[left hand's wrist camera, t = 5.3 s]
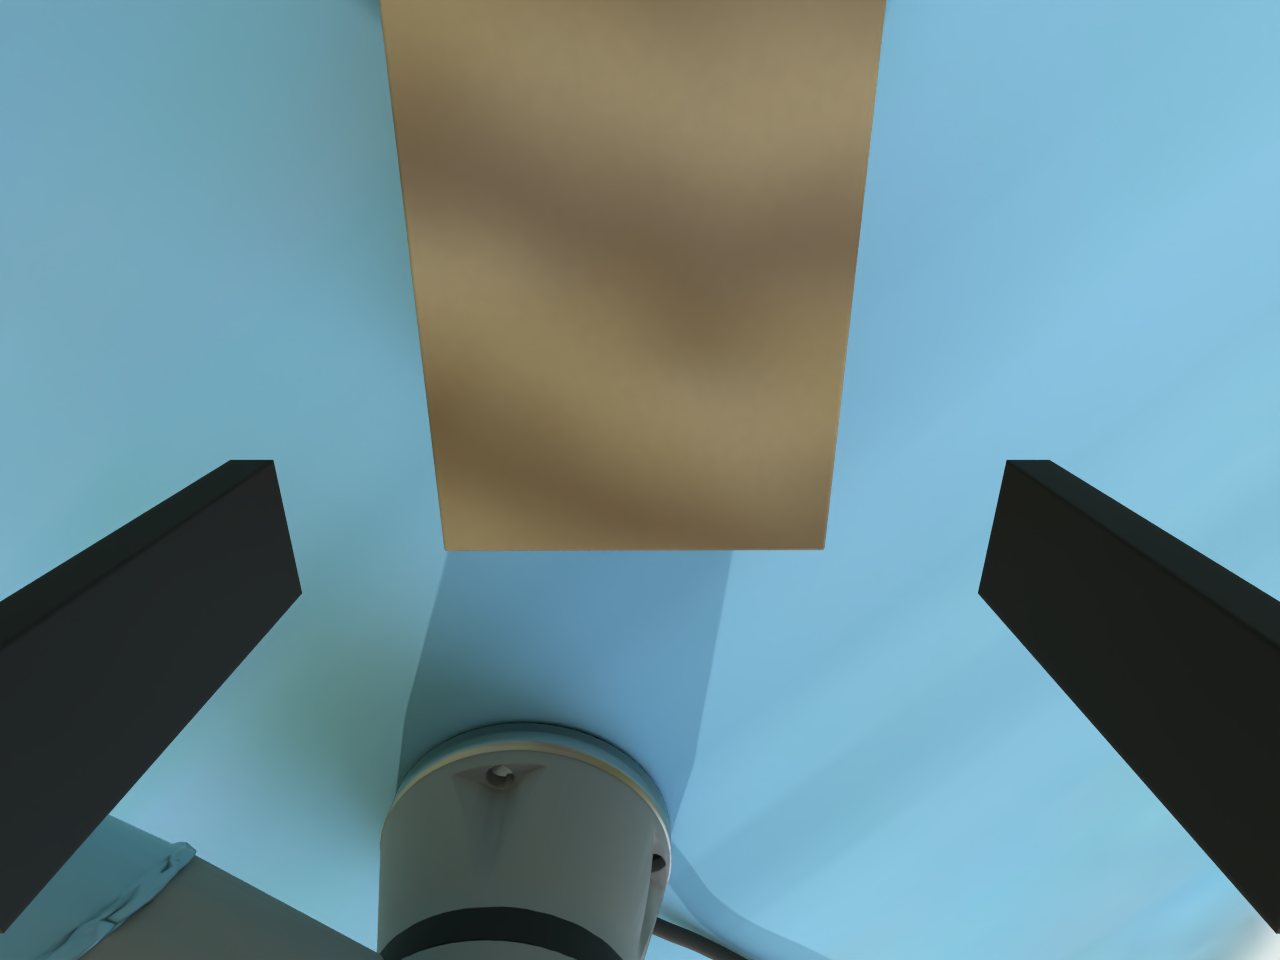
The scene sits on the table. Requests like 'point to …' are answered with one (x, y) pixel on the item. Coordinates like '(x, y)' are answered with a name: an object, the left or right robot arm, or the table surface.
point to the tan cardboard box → (633, 261)
